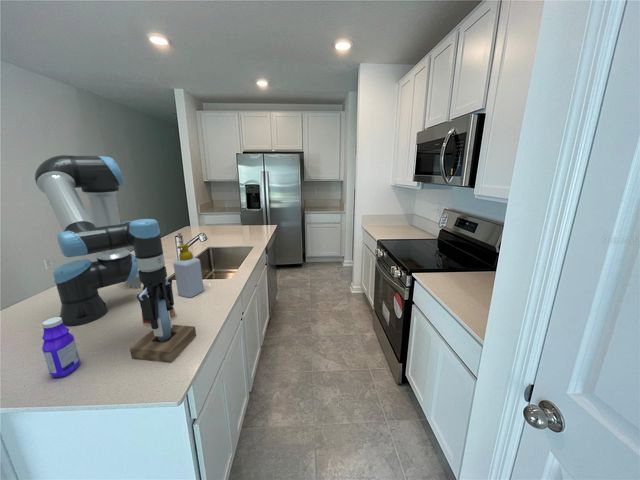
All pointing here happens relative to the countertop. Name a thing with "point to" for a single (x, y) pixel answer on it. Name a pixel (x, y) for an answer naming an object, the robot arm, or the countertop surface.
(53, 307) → the countertop surface
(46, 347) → the bottle
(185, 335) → the socket block
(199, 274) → the soap bottle
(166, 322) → the peg
